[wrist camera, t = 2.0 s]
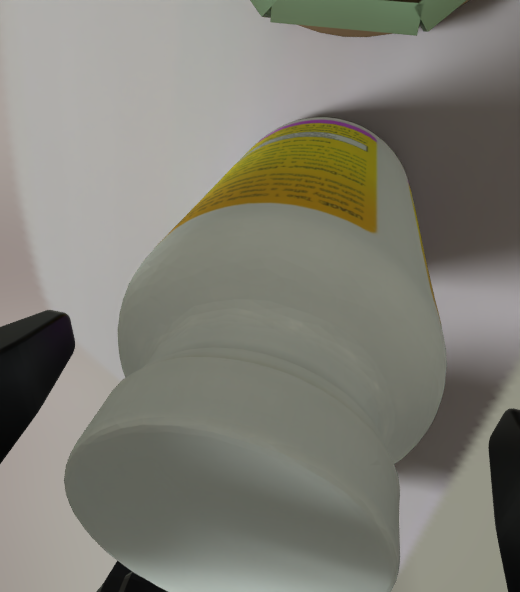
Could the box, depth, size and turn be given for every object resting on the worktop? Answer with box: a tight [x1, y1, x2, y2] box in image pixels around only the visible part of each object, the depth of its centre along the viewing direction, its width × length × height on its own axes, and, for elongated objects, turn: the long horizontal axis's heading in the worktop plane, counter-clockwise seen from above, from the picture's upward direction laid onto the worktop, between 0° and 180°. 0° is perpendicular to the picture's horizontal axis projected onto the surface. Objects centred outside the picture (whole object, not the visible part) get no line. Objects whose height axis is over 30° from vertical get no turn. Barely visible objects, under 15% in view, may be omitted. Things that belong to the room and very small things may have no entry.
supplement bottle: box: [64, 117, 447, 592], centre depth 11 cm, size 7×7×13 cm
